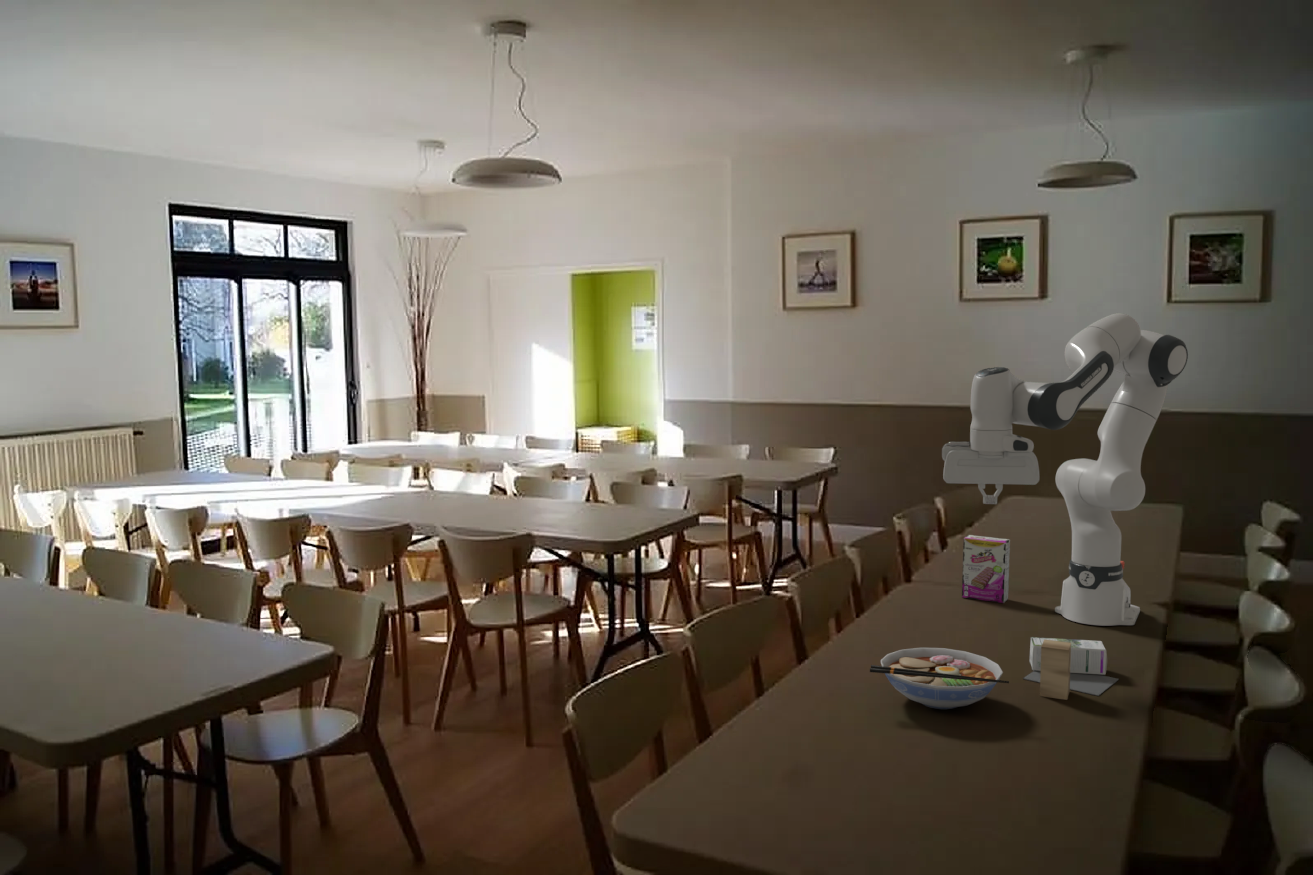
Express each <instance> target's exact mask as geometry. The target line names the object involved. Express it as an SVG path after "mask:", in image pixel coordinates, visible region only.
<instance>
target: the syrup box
mask: <svg viewBox="0 0 1313 875" xmlns="http://www.w3.org/2000/svg"><path fill="white" fill-rule="evenodd" d="M1044 639H1045V640H1053V641H1061V642H1070V643H1071V663H1070V673H1083V674H1098V675H1103V676H1106V673H1107V668H1108V667H1107V666H1108V655H1107V653H1108V652H1107V649H1106V648H1105V646H1104V644H1103V641H1101V640H1091V639H1090V640H1088V639H1072V638H1071V639H1069V638H1055V637H1053V638H1052V637H1035V636H1030V645H1029V647H1030V648H1029V664H1030V666H1031V670H1032V671H1041V646H1042V644H1043V641H1044Z"/></svg>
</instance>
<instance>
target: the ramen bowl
mask: <svg viewBox="0 0 1313 875" xmlns="http://www.w3.org/2000/svg"><path fill="white" fill-rule="evenodd" d="M880 664H881V665H874V664H871V665H870V667H869V673H877V674H885V677H886V678H887V680H888V682H889V683H890V684H891V685H892V686H893V687H894V689H895V690H896V691H898V692H899V693H900V694H901V695H903V696H905V697H906V698H907V699H908V700H911V701H914V702H916V703H919V704H922V705H923V706H925V707H928V708H931V709H937V710H953V709H956V708H958V707H960V708H961V707H966V706H969V705H972V704H974V703H977V702H979V701H981V700H984V699H985V697H986V696H988V695H989V694H990V692H991V691H992V690H993V689H994V687H995V686H996V685H997V683H1001V684H1002V683H1003V684H1009V683H1010V681H1009V680H1000V678H1001V677H1002V676H1003V673H1004V671H1003V670H1002V668H1001V666H1000V665H999V664H998V663H997V662H995V661H993V660H992V659H990V658H987V657H986V656H983V655H980V654H975V653H973V652H969V651H965V650H958V649H952V648H944V647H914V648H913V647H912V648H906V649H904V648H903V649H899V650H896V651H894V652H890V653H887V654H886V655H885V656H884V657H882V658H881V659H880Z"/></svg>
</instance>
